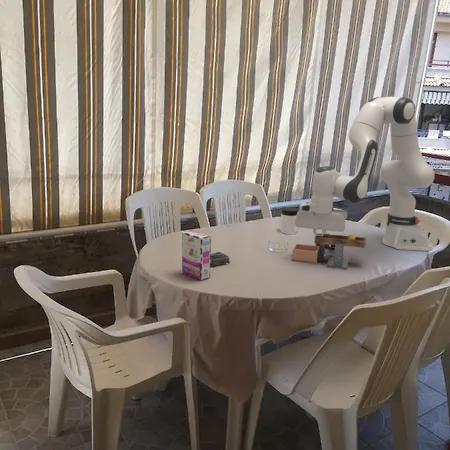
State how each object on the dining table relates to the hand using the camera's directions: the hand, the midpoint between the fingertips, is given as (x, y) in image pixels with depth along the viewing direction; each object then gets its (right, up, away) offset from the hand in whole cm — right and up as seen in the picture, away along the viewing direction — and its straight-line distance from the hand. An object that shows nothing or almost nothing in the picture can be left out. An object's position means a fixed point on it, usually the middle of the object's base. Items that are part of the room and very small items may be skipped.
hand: (318, 239), depth 192 cm
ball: (+13, 0, -4) cm, 13 cm away
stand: (+6, -10, +1) cm, 11 cm away
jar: (-6, +2, +43) cm, 43 cm away
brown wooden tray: (+8, -1, -2) cm, 9 cm away
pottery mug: (+7, -5, +18) cm, 20 cm away
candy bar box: (-50, -13, -17) cm, 54 cm away
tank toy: (-43, -10, -3) cm, 45 cm away
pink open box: (-5, -8, +4) cm, 10 cm away
